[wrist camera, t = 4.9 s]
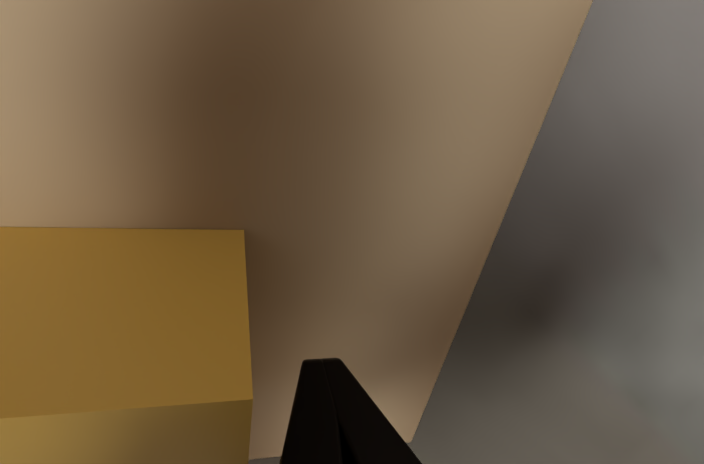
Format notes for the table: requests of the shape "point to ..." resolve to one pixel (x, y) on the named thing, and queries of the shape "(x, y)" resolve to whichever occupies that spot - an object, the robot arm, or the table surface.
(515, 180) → the board
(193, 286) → the mustard yellow box
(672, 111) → the table surface
